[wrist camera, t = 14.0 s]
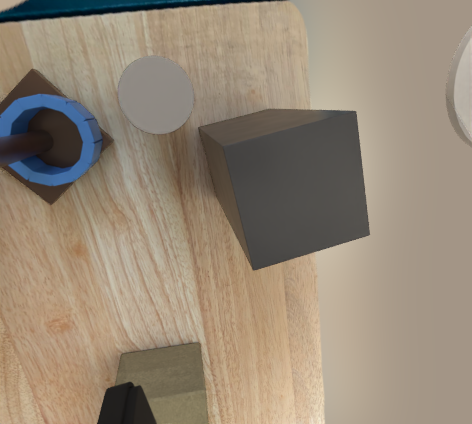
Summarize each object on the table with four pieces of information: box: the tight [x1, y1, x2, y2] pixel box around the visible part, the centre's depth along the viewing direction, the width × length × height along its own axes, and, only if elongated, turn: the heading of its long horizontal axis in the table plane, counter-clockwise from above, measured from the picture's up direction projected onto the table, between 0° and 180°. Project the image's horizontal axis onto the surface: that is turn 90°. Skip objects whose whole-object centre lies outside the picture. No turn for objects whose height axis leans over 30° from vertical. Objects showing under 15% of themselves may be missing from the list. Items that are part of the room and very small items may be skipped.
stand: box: [0, 69, 114, 205], centre depth 28 cm, size 9×9×12 cm
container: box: [118, 56, 194, 135], centre depth 27 cm, size 5×5×15 cm
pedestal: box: [199, 109, 370, 271], centre depth 29 cm, size 8×8×18 cm
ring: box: [0, 94, 103, 186], centre depth 31 cm, size 8×8×4 cm
